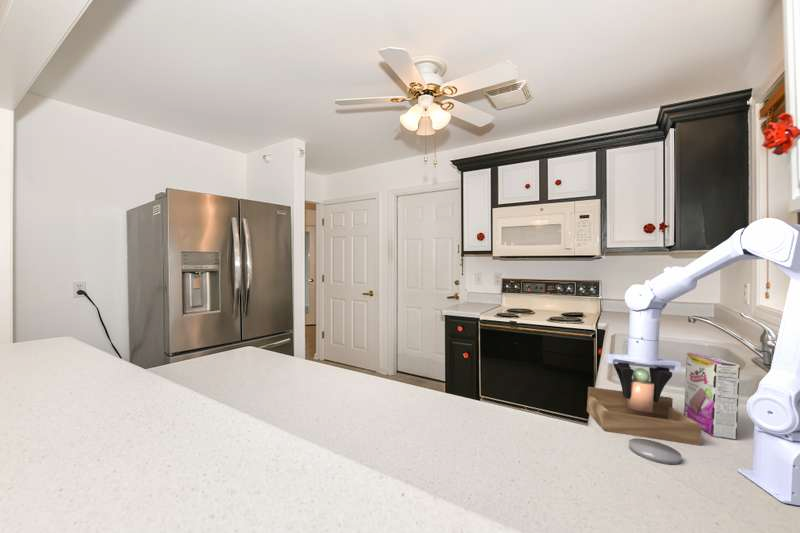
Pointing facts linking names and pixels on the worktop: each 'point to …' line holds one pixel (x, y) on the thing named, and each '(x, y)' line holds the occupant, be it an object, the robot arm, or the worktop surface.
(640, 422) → the tray
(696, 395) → the candy bar box
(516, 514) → the worktop surface
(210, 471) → the worktop surface
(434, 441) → the worktop surface
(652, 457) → the saucer
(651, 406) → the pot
